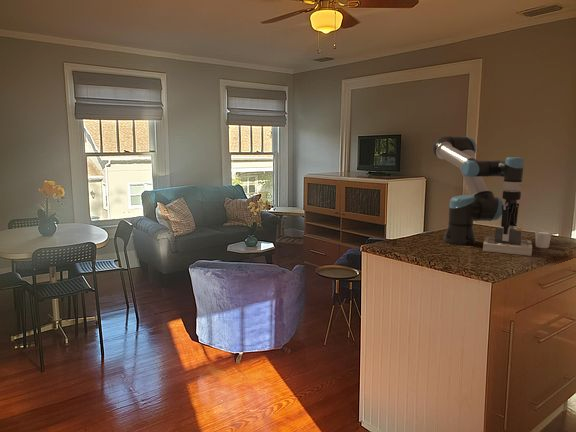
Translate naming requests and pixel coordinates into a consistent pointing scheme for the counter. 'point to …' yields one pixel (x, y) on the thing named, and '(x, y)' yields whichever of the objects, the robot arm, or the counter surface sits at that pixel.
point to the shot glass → (542, 239)
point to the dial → (513, 237)
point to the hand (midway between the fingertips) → (507, 240)
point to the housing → (508, 247)
